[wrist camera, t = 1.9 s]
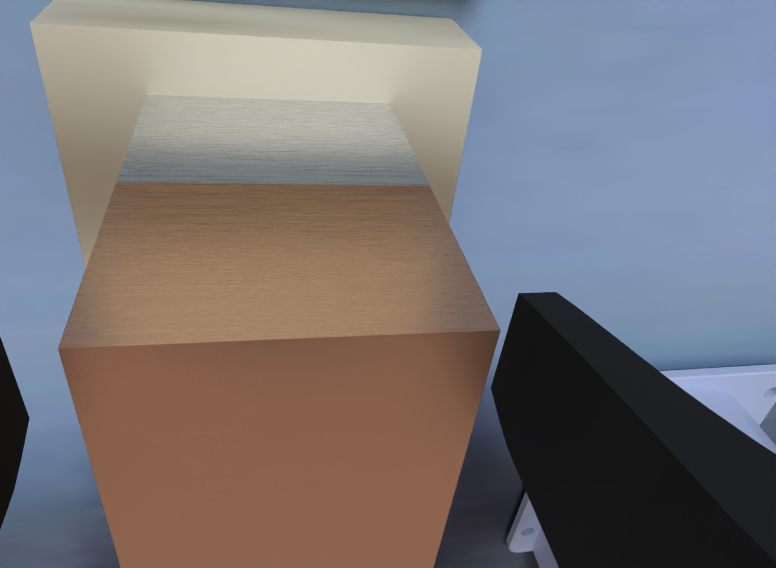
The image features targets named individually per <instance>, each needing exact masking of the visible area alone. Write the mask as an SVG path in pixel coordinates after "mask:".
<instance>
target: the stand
mask: <svg viewBox="0 0 776 568" xmlns="http://www.w3.org/2000/svg"><path fill="white" fill-rule="evenodd" d="M30 27H31V31H32V36H33V40H34V44H35V49H36V53H37V58H38V62H39V66H40V71H41V75H42V80H43V84H44V88H45V93H46V97H47V102H48V106H49V111H50V115H51V119H52V124H53V128H54V133H55V137H56V141H57V146H58V150H59V155H60V159H61V163H62V168H63V172H64V177H65V181H66V185H67V190H68V194H69V199H70V203H71V207H72V212H73V216H74V221H75V225H76V229H77V234H78V238H79V243H80V247H81V251H82V256H83V260H84V265H85V269H86V267H87V264H88V261H89V258H90V256H91V253H92V250H93V247H94V244H95V241H96V238H97V236H98V233H99V230H100V227H101V224H102V221H103V218H104V216H105V213H106V210H107V207H108V204H109V201H110V198H111V196H112V193H113V190H114V187H115V184H116V181H117V178H118V176H119V173H120V170H121V167H122V164H123V161H124V158H125V156H126V153H127V150H128V147H129V144H130V141H131V138H132V136H133V133H134V130H135V127H136V124H137V121H138V118H139V116H140V113H141V110H142V107H143V104H144V101H145V98H146V96H147V95H174V96H200V97H227V98H254V99H280V100H307V101H333V102H360V103H387V104H390V105H391V107H392V109H393V111H394V113H395V115H396V117H397V119H398V122H399V124H400V126H401V128H402V130H403V132H404V134H405V136H406V138H407V140H408V142H409V144H410V146H411V148H412V150H413V152H414V154H415V156H416V158H417V160H418V162H419V164H420V167H421V169H422V171H423V173H424V175H425V177H426V179H427V181H428V183H429V185H430V187H431V189H432V191H433V193H434V195H435V197H436V199H437V201H438V203H439V205H440V207H441V209H442V212H443V214H444V216H445V218H446V220H447V222H448V224H449V221H450V216H451V211H452V206H453V201H454V195H455V190H456V185H457V180H458V174H459V169H460V164H461V159H462V154H463V148H464V143H465V138H466V133H467V127H468V122H469V117H470V112H471V107H472V101H473V96H474V91H475V86H476V80H477V75H478V70H479V65H480V59H481V54H482V49H481V48H480V47H479V46H478V45H477V44H476V43H475V42H474V41H473V40H472V39H471V38H470V37H469V36H468V34H467V33H466V32H465V31H464V30H463V29H462V28H461V27H460V26H459V25H458V24H457V23H456V22H455V21H454V20H453V19H451V18H437V17H422V16H407V15H393V14H378V13H363V12H349V11H334V10H320V9H305V8H290V7H276V6H261V5H246V4H232V3H217V2H202V1H188V0H53V1H52V2H51V3H50V4H49V5H48V6H47V7H46V8H45V9H44V10H43V11H42V12H41V13H40V14H39V15H38V16H37V17H36V18H35V19H34V20H33V21H32V22H31V23H30Z"/></svg>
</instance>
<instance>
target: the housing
mask: <svg viewBox="0 0 776 568" xmlns="http://www.w3.org/2000/svg"><path fill="white" fill-rule="evenodd" d="M499 333H500V328H499V326H498V324H497V322H496V320H495V318H494V316H493V314H492V312H491V310H490V308H489V306H488V304H487V301H486V299H485V297H484V295H483V293H482V291H481V289H480V287H479V285H478V283H477V281H476V279H475V277H474V275H473V273H472V271H471V269H470V267H469V265H468V263H467V261H466V259H465V256H464V254H463V252H462V250H461V248H460V246H459V244H458V242H457V240H456V238H455V236H454V234H453V232H452V230H451V228H450V226H449V224H448V222H447V220H446V218H445V216H444V214H443V212H442V209H441V207H440V205H439V203H438V201H437V199H436V197H435V195H434V193H433V191H432V189H431V187H430V185H429V183H428V181H427V179H426V177H425V175H424V173H423V171H422V169H421V167H420V164H419V162H418V160H417V158H416V156H415V154H414V152H413V150H412V148H411V146H410V144H409V142H408V140H407V138H406V136H405V134H404V132H403V130H402V128H401V126H400V124H399V122H398V119H397V117H396V115H395V113H394V111H393V109H392V107H391V105H390V104H387V103H360V102H333V101H307V100H280V99H254V98H227V97H200V96H174V95H147V96H146V98H145V101H144V104H143V107H142V110H141V113H140V116H139V118H138V121H137V124H136V127H135V130H134V133H133V136H132V138H131V141H130V144H129V147H128V150H127V153H126V156H125V158H124V161H123V164H122V167H121V170H120V173H119V176H118V178H117V181H116V184H115V187H114V190H113V193H112V196H111V198H110V201H109V204H108V207H107V210H106V213H105V216H104V218H103V221H102V224H101V227H100V230H99V233H98V236H97V238H96V241H95V244H94V247H93V250H92V253H91V256H90V258H89V261H88V264H87V267H86V270H85V273H84V276H83V278H82V281H81V284H80V287H79V290H78V293H77V296H76V298H75V301H74V304H73V307H72V310H71V313H70V316H69V318H68V321H67V324H66V327H65V330H64V333H63V336H62V338H61V341H60V344H59V347H58V350H59V354H60V357H61V361H62V364H63V368H64V371H65V375H66V378H67V382H68V385H69V389H70V392H71V396H72V399H73V403H74V406H75V410H76V413H77V417H78V420H79V424H80V427H81V431H82V434H83V438H84V441H85V445H86V448H87V452H88V455H89V459H90V462H91V466H92V469H93V473H94V476H95V480H96V483H97V486H98V490H99V493H100V497H101V500H102V504H103V507H104V511H105V514H106V518H107V521H108V525H109V528H110V532H111V535H112V539H113V542H114V546H115V549H116V553H117V556H118V560H119V563H120V567H121V568H433V567H434V564H435V560H436V556H437V553H438V549H439V546H440V542H441V539H442V535H443V532H444V528H445V525H446V521H447V518H448V514H449V510H450V507H451V503H452V500H453V496H454V493H455V489H456V486H457V482H458V479H459V475H460V472H461V468H462V464H463V461H464V457H465V454H466V450H467V447H468V443H469V440H470V436H471V433H472V429H473V425H474V422H475V418H476V415H477V411H478V408H479V404H480V401H481V397H482V394H483V390H484V387H485V383H486V379H487V376H488V372H489V369H490V365H491V362H492V358H493V355H494V351H495V348H496V344H497V341H498V337H499Z"/></svg>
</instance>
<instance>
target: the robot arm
mask: <svg viewBox="0 0 776 568" xmlns="http://www.w3.org/2000/svg"><path fill="white" fill-rule="evenodd" d="M491 390H492V394H493V398H494V402H495V406H496V409H497V413H498V417H499V421H500V424H501V427H502V431H503V434H504V437H505V441H506V444H507V447H508V450H509V452H510V455H511V457H512V460H513V462H514V464H515V467H516V469H517V472H518V474H519V476H520V479H521V481H522V483H523V486H524V488H525V491H526V492H525V495H524V497H523V500H522V502H521V505H520V507H519V510H518V512H517V515H516V517H515V520H514V522H513V525H512V527H511V530H510V532H509V535H508V537H507V545H508V547H509V550H510V551H512V552H515V553H519V552H527V551H533V552H534V555H535V558H536V560H537V563H538V565H539V568H776V445H775V444H774V443H773V442H772V441H771V439H770V438H769V437H768V436H767V435H766V433H765V432H764V431H763V430H762V429H761V427H760V426H759V425H760V424H761V422H762V421H763V419H764V418H765V417H766V415H767V414H768V412H769V411H770V409H771V408H772V406H773V405H774V404H775V402H776V364H771V365H754V366H737V367H721V368H704V369H687V370H670V371H658V370H657V369H656V368H654V367H653V366H652V365H650V364H649V363H648V362H646V361H645V360H644V359H643V358H641V357H640V356H639V355H637V354H636V353H635V352H634V351H632V350H631V349H630V348H629V347H627V346H626V345H625V344H623V343H622V342H621V341H620V340H618V339H617V338H616V337H615V336H613V335H612V334H611V333H609V332H608V331H607V330H606V329H604V328H603V327H602V326H601V325H599V324H598V323H597V322H595V321H594V320H593V319H592V318H590V317H589V316H588V315H586V314H585V313H584V312H583V311H581V310H580V309H579V308H577V307H576V306H575V305H573V304H572V303H571V302H569V301H568V300H566V299H565V298H563V297H562V296H561V295H559V294H558V293H556V292H544V293H519V294H518V297H517V301H516V304H515V307H514V311H513V314H512V318H511V321H510V324H509V328H508V331H507V335H506V338H505V341H504V345H503V348H502V352H501V355H500V358H499V362H498V365H497V369H496V372H495V375H494V379H493V382H492V386H491ZM28 423H29V416H28V413H27V410H26V407H25V405H24V402H23V399H22V396H21V393H20V391H19V388H18V385H17V382H16V379H15V377H14V374H13V371H12V368H11V366H10V363H9V360H8V357H7V354H6V352H5V349H4V346H3V343H2V340H1V338H0V529H1V526H2V523H3V520H4V517H5V515H6V512H7V509H8V506H9V503H10V500H11V497H12V494H13V491H14V488H15V484H16V479H17V475H18V471H19V466H20V462H21V458H22V453H23V448H24V443H25V438H26V433H27V428H28Z"/></svg>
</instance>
